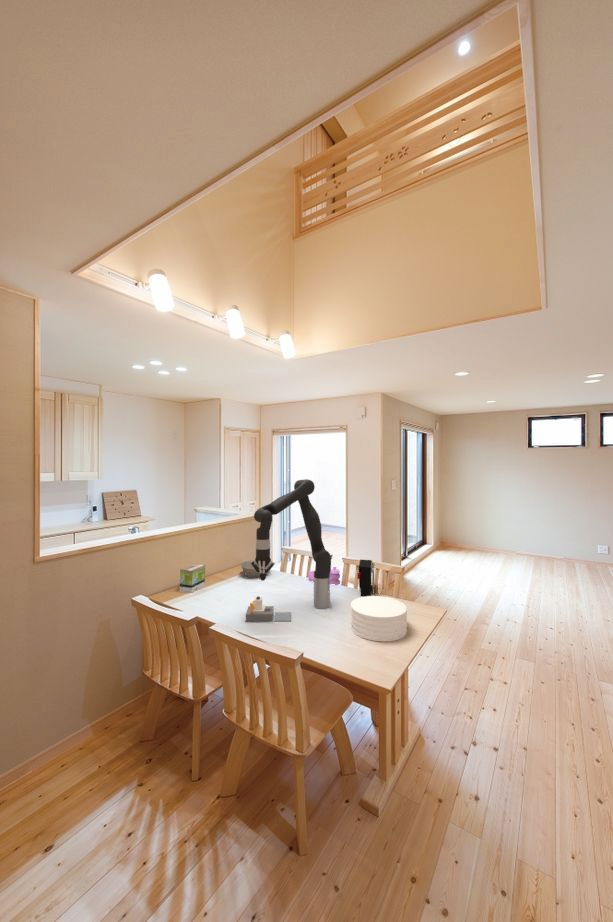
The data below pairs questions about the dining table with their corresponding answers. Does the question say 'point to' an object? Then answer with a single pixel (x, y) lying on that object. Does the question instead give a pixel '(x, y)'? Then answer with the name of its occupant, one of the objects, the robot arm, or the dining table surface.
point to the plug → (258, 605)
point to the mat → (282, 617)
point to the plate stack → (378, 618)
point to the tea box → (192, 578)
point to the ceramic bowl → (250, 569)
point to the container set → (333, 576)
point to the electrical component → (366, 577)
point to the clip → (251, 606)
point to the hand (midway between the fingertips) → (262, 580)
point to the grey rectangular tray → (260, 615)
